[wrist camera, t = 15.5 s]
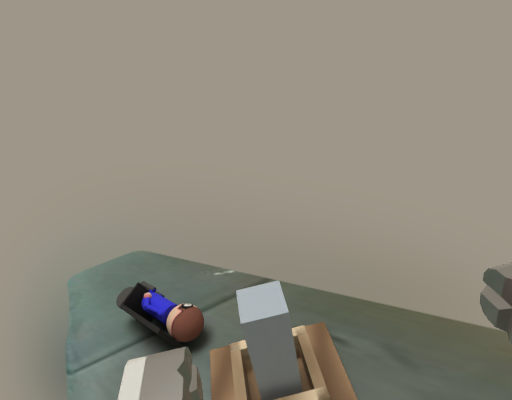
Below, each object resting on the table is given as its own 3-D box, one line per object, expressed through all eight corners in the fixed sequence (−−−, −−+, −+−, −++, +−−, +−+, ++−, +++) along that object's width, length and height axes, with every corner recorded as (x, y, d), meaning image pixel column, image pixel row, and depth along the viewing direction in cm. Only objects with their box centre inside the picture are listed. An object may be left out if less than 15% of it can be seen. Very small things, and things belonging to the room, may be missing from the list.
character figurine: (156, 300, 59) (215, 339, 50) (117, 327, 55) (175, 376, 45) (144, 263, 56) (206, 297, 47) (102, 288, 51) (161, 331, 42)
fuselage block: (295, 368, 42) (278, 280, 36) (304, 403, 38) (288, 312, 32) (259, 377, 42) (236, 290, 35) (265, 413, 38) (240, 323, 31)
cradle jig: (324, 326, 48) (321, 300, 46) (377, 451, 34) (377, 422, 32) (211, 355, 47) (202, 329, 45) (217, 495, 33) (205, 468, 31)
